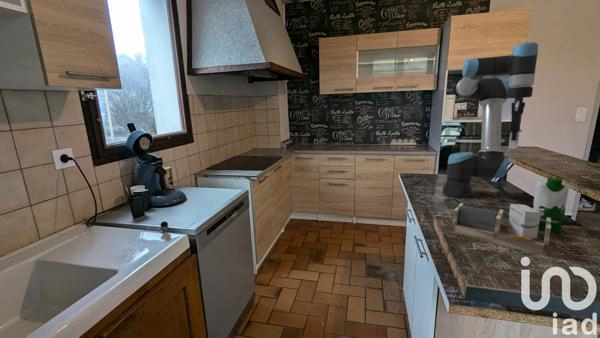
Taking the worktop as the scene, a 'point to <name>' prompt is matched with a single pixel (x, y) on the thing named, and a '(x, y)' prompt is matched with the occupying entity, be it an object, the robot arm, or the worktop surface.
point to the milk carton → (551, 202)
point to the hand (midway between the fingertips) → (512, 148)
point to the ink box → (523, 221)
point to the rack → (496, 229)
